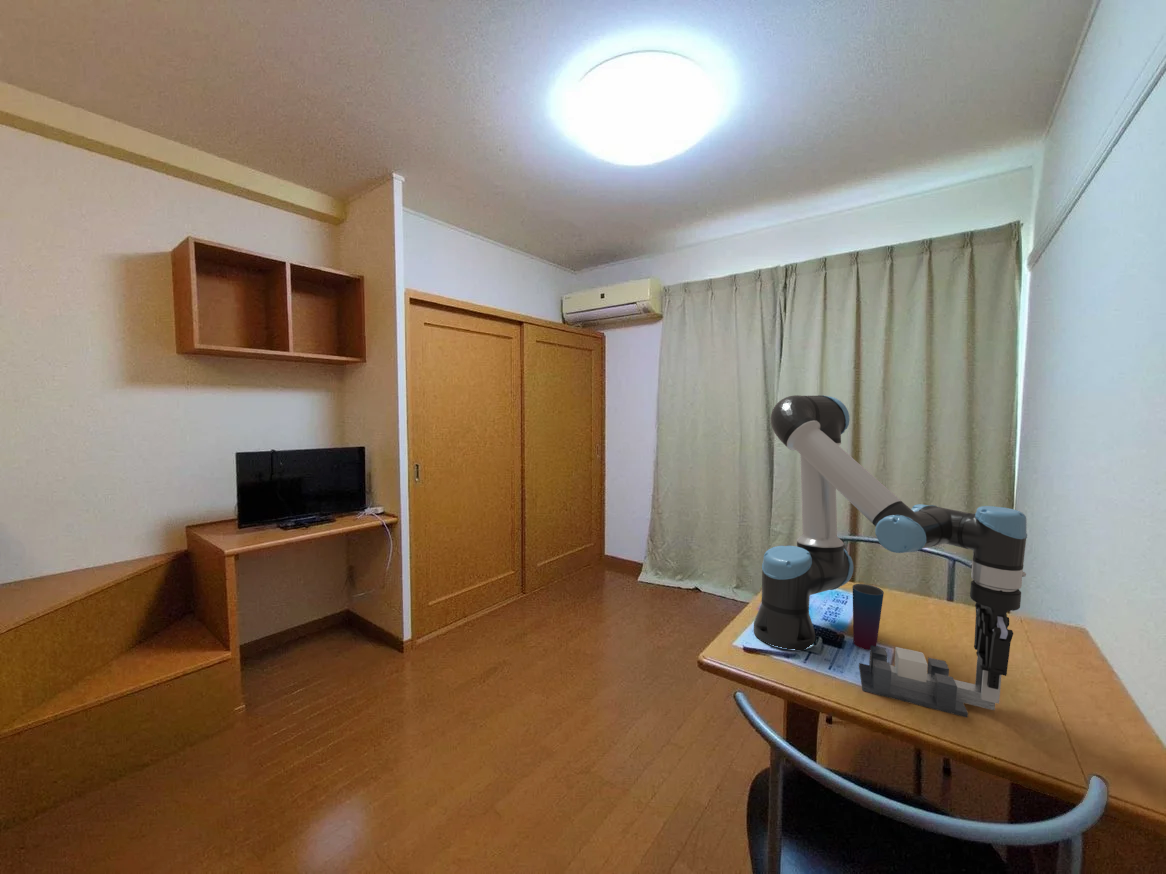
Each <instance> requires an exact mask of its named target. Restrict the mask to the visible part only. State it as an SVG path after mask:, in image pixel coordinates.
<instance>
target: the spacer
mask: <svg viewBox="0 0 1166 874" xmlns="http://www.w3.org/2000/svg"><path fill="white" fill-rule="evenodd" d="M894 649H895V651H894V666H895V668H896V671H897V675H898V676H901V677H906V678H910V679H914V680H918V681H922V682H926V679H927V669H928V661H927V660H926V657H925V654H924V653H923V652H922V651H917V650H912V649H908V648H904V647H903V648H902V647H898V646H895V647H894Z"/></svg>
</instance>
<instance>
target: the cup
mask: <svg viewBox="0 0 1166 874" xmlns="http://www.w3.org/2000/svg"><path fill="white" fill-rule="evenodd" d="M884 594H885V593H884V590H883V589H881V588H879V587H877V586H875V585H871V584H867V583H866V584H865V583H856V584H853V585H852V631H853V632H852V633H853V636H852V637H853V641H852V642H853V644H854V645H855V647H858V648H859V649H861V650H866V651H870V645H873V646H877V645H878V638H879V631H880V630H879V628H880V621H881V615H882V610H883V609H882V607H883V601H884Z"/></svg>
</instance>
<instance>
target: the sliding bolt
mask: <svg viewBox="0 0 1166 874" xmlns="http://www.w3.org/2000/svg"><path fill="white" fill-rule="evenodd" d="M985 655H986V654H982V653H978V656H977V658H978V659H976V668H977V671H976V670H975V671H976V672H975V680H976V684H975V683H971V682H965V681H962V680H957V679H954V681H955V683H956V685H957V695H956V701H958V702H962V703H964V704H966V705H971V706H975V707H978V708H983V709H986V710H992V711H996V703H993V702H989V701H985V700H981V698H980V697H981V684H982V672H983V670H981V667H980V665H981V666H985ZM890 667H891V685H893V686H897V687H901V688H905V689H909V690H913V691H917V692H922V693H926V694H930V695H933V690H934V676H935V675H932V674H927V679H926V682H922V681H918V680H914V679H910V678H906V677H901V676H898V675H897V671H896V668H895V665H892V664H890Z"/></svg>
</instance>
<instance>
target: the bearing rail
mask: <svg viewBox="0 0 1166 874" xmlns="http://www.w3.org/2000/svg"><path fill="white" fill-rule="evenodd" d="M888 657H889V655H888V652H887V649H886V648H885V647H882V646H881V647H880V646H873V645H870V650H869V661H868V663H869V664H865V663H862V662H859V664H858V669H859V675H860V682H861V683H860V684H861V690H862V692H867V693H870V694H873V695H878V696H881V697H886V698H889V699H894V700H897V701H900V702H904V703H908V704H912V705H916V706H921V707H925V708H928V709H932V710H936V711H940V712H944V713H948V714H952V715H955V716H959V717H963V718H968V717H969V712H968V710H967V708H966V706H965V703H962V702H958V701H956V695H957V685H956V683H955V681H954V680H955V679H954V677H953V676H951V675H950V668H949V666H948V664H947V662H946V660H941V659H937V658H932V657H928V658H927V664H928V665H927V674H932V675H935V676H934V690H933V695H930V694H926V693H922V692H917V691H913V690H909V689H905V688H901V687H897V686H893V685H891V667H890V665H891V663H890V662H888Z"/></svg>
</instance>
